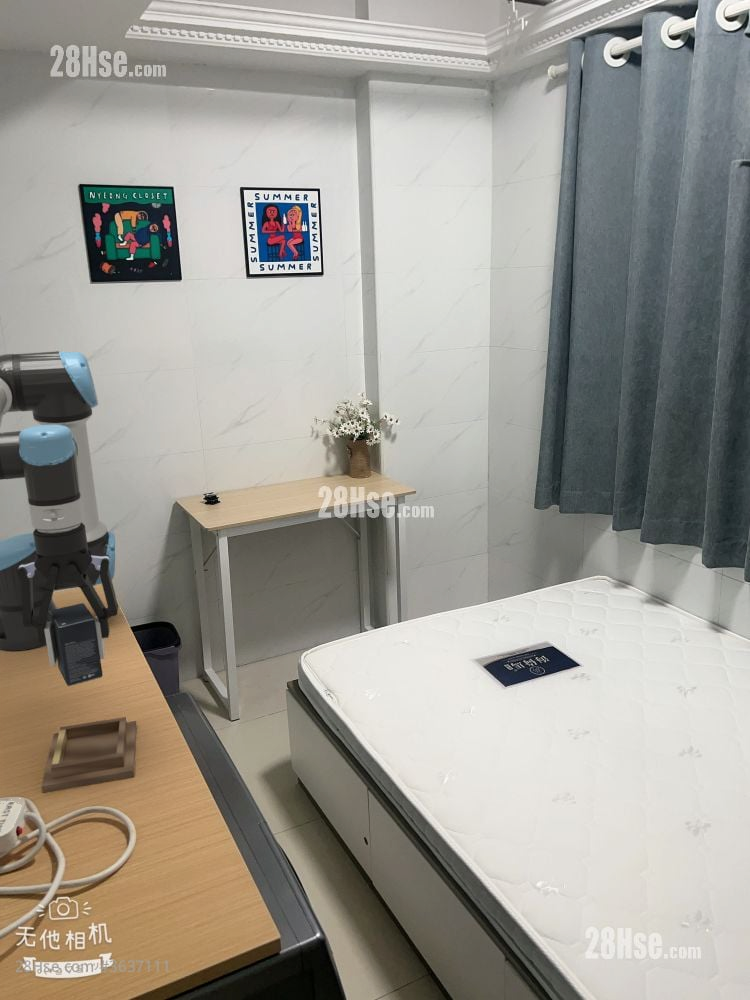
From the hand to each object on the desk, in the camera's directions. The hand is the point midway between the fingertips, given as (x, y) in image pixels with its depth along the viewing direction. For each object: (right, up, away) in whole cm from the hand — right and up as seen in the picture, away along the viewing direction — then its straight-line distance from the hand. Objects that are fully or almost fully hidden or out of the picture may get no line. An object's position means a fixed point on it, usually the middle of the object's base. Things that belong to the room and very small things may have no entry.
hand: (78, 658), depth 123 cm
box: (0, -3, +1) cm, 3 cm away
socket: (0, -18, +5) cm, 19 cm away
